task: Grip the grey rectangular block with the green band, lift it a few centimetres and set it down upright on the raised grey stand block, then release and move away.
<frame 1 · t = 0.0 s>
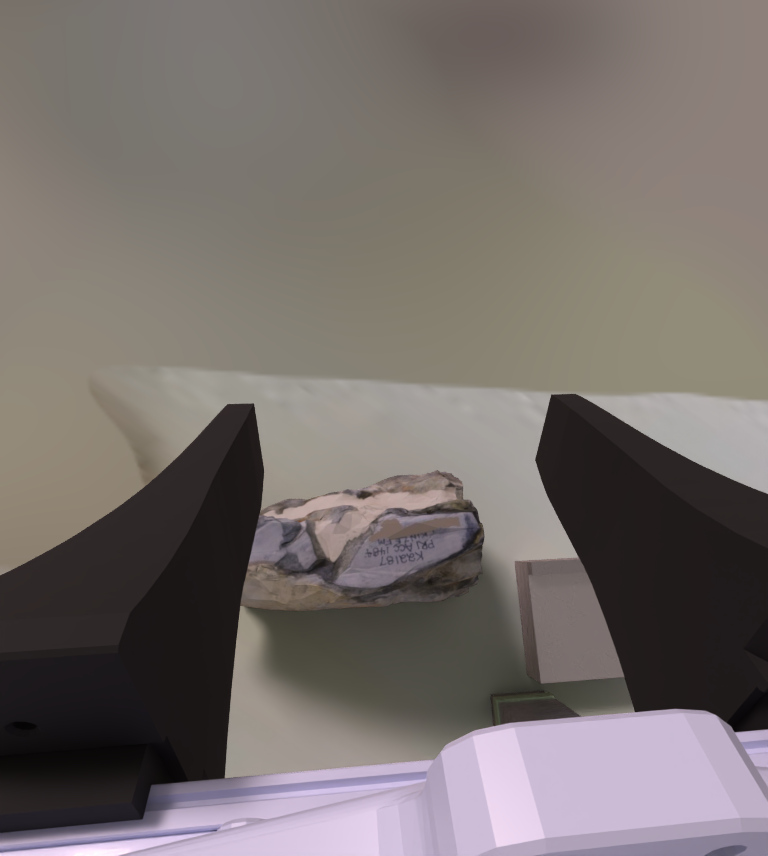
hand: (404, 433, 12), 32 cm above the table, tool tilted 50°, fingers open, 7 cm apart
fossil rock: (339, 541, 43), on the table
stand block: (566, 613, 43), on the table
grey rectangular block: (520, 722, 41), on the table
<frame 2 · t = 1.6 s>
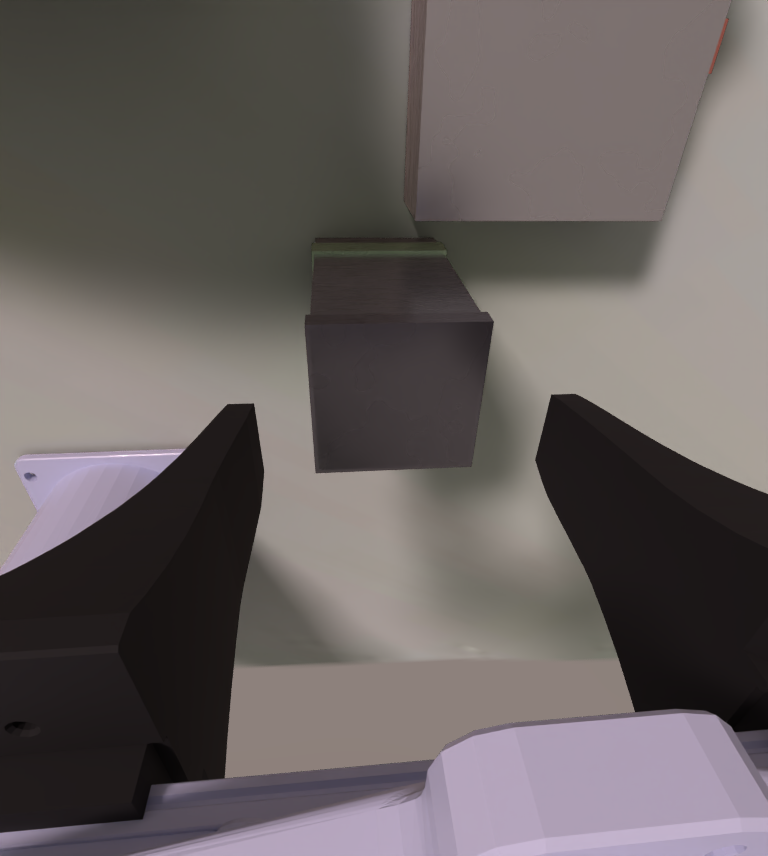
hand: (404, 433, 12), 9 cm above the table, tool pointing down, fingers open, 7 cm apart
stand block: (536, 46, 16), on the table
grey rectangular block: (374, 295, 20), on the table
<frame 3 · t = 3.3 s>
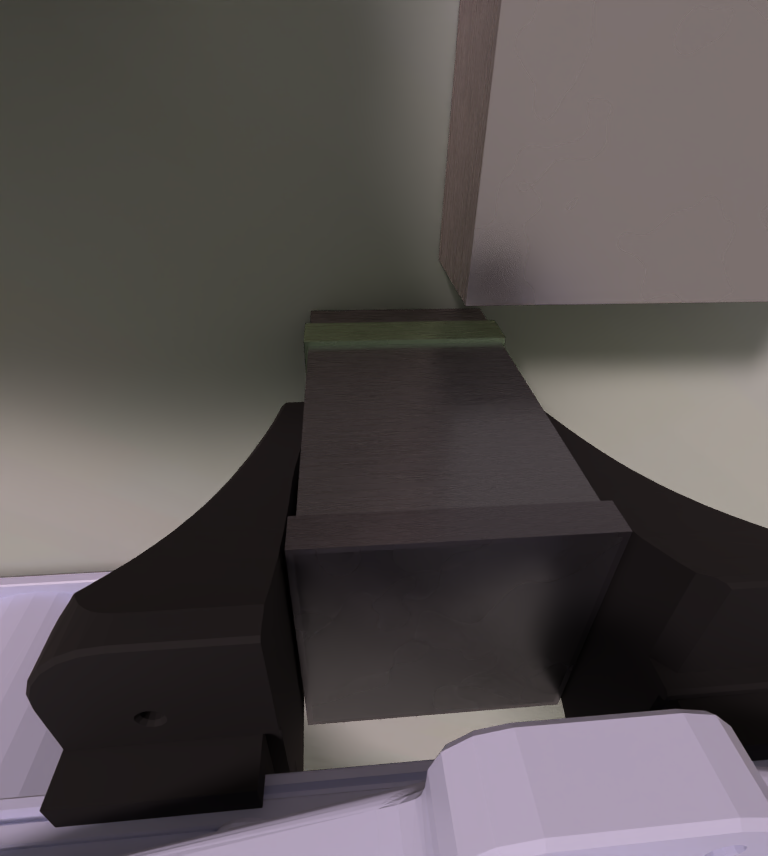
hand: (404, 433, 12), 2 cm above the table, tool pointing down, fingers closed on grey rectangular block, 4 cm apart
stand block: (653, 32, 10), on the table
grey rectangular block: (393, 383, 14), on the table, touching gripper
when the fingers open (6 cm above the table, at t = 7.5 s): grey rectangular block stays where it is, resting on stand block.
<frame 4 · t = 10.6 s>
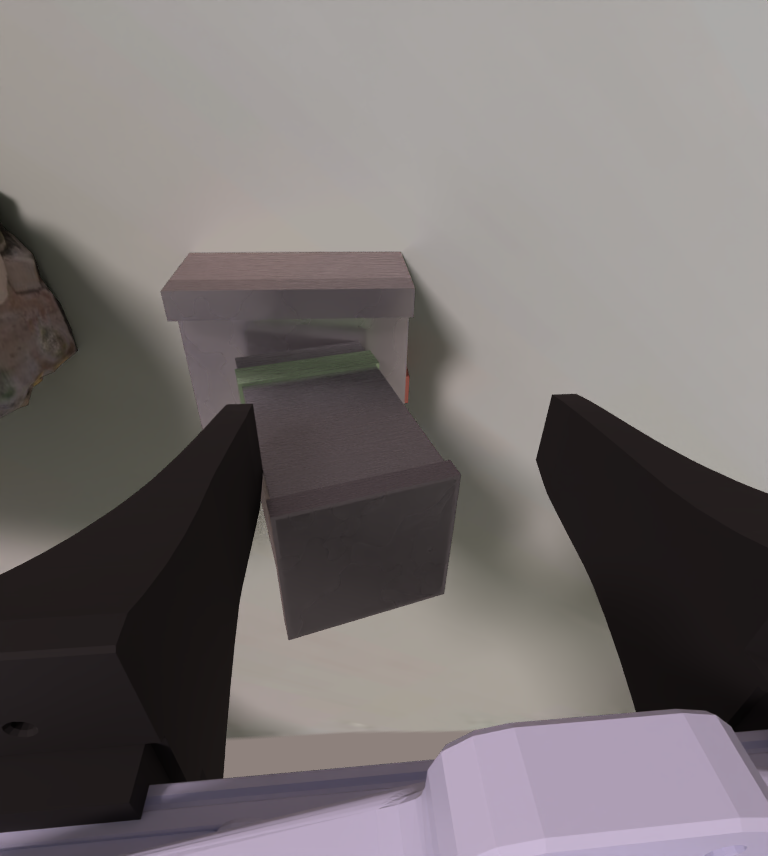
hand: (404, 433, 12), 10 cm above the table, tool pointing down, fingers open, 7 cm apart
stand block: (305, 358, 22), on the table
grey rectangular block: (303, 402, 19), point 4 cm above the table, tilted 15°, touching gripper, stand block
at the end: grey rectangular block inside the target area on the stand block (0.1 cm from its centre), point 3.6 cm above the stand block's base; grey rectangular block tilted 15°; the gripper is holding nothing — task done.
